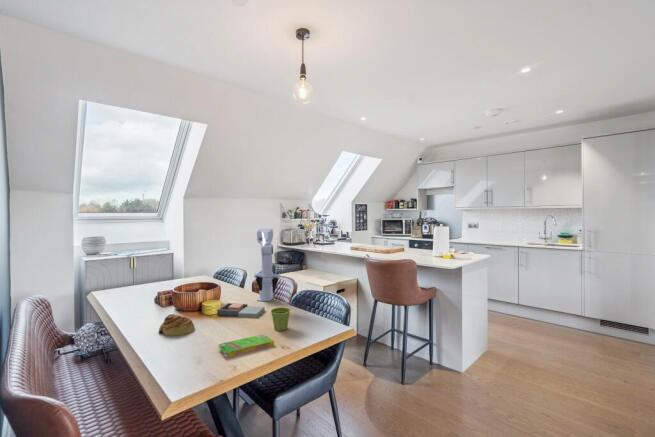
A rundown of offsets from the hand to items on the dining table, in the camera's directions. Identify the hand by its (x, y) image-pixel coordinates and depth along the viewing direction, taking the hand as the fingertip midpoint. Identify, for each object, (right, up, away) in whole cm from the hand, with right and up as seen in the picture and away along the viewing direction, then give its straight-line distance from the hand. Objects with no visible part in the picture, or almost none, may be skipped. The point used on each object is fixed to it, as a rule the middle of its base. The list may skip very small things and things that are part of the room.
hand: (267, 290), depth 178 cm
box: (-18, -11, -6) cm, 21 cm away
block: (-16, -10, -4) cm, 20 cm away
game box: (+1, -12, -49) cm, 51 cm away
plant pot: (+12, -11, -29) cm, 33 cm away
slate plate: (-7, -11, -7) cm, 15 cm away
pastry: (-36, -12, -32) cm, 49 cm away
